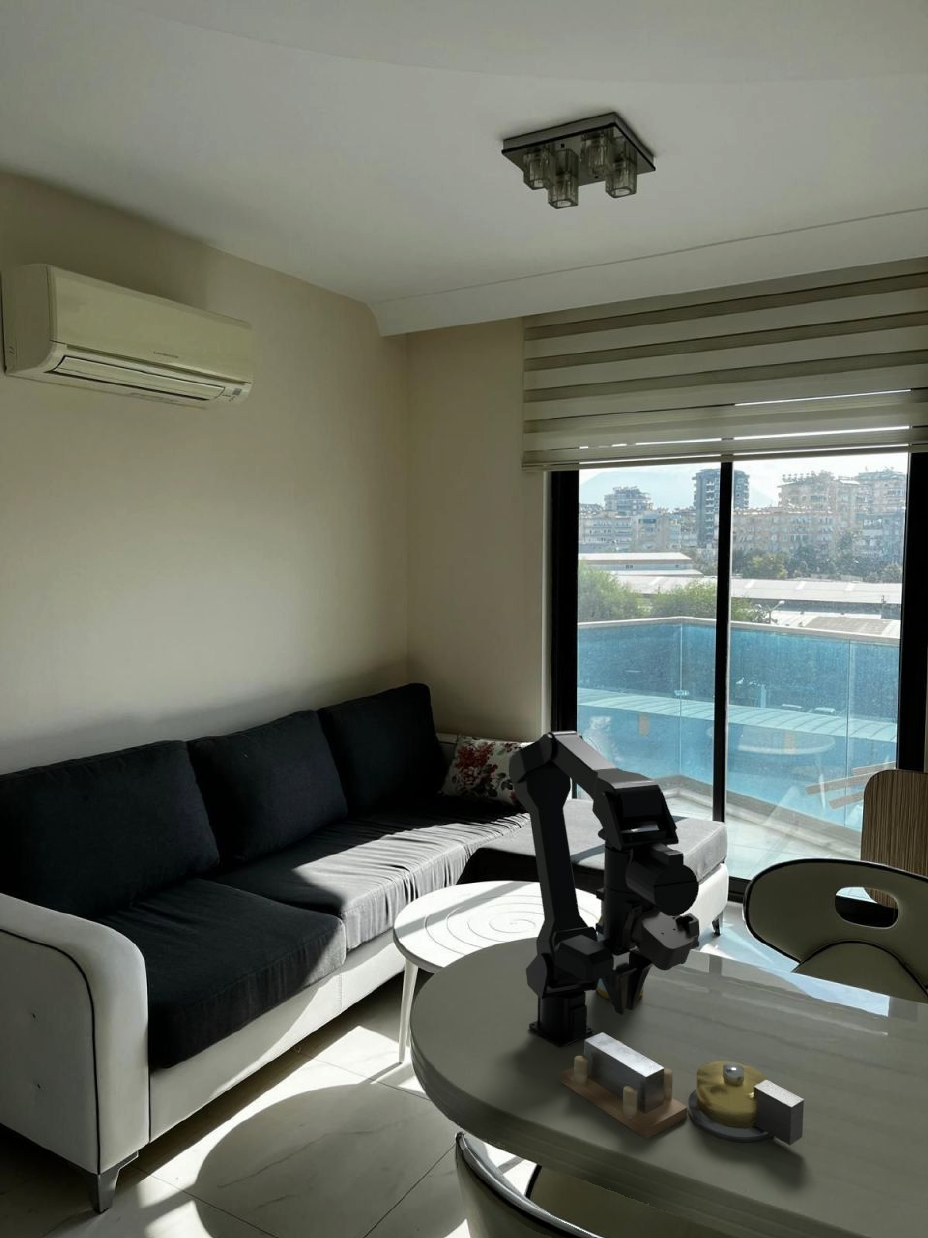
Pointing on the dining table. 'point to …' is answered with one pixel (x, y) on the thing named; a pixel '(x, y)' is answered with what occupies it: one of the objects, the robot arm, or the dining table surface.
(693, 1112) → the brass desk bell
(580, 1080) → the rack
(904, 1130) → the dining table surface
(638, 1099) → the long grey slab
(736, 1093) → the brass disc with block
